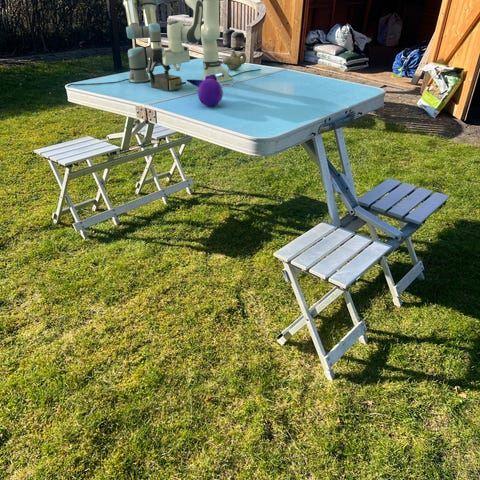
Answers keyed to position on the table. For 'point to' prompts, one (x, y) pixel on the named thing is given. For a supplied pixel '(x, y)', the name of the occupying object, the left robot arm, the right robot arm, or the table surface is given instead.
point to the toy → (208, 90)
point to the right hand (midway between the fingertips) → (177, 70)
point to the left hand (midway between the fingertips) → (160, 81)
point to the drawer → (176, 84)
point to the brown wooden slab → (163, 81)
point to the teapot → (234, 60)
